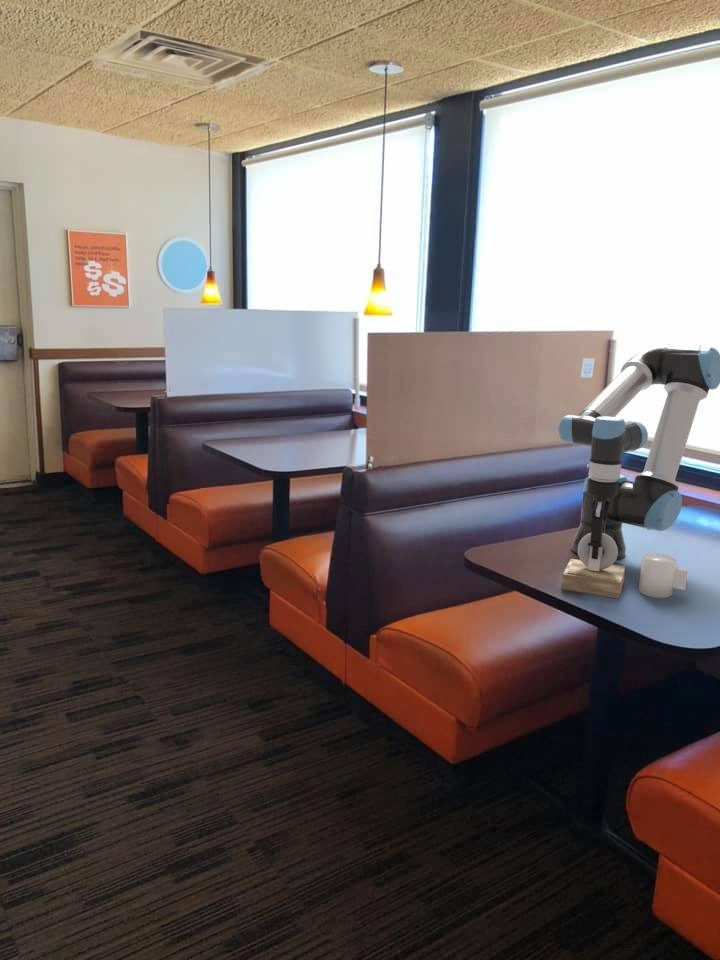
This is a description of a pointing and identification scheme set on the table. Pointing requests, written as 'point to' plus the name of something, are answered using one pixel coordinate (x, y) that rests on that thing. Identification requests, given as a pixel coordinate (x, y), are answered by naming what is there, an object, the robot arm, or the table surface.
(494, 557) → the table surface
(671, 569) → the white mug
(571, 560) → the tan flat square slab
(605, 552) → the donut
